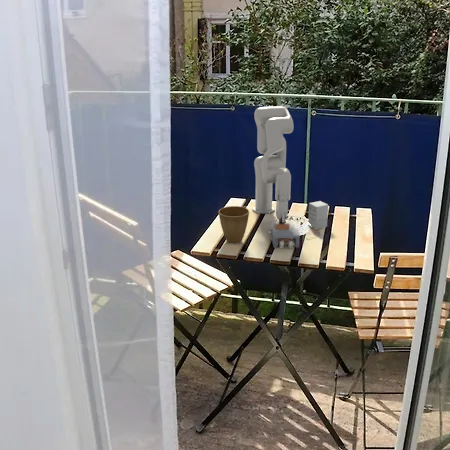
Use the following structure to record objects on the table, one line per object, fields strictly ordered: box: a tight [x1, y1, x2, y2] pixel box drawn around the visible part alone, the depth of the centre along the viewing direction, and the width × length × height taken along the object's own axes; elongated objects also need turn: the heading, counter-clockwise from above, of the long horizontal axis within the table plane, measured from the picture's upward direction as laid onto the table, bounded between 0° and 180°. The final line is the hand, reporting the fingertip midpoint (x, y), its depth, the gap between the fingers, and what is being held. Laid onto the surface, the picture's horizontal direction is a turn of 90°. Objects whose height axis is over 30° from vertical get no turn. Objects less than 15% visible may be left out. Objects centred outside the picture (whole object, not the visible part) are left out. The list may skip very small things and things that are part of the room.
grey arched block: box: [274, 223, 293, 245], centre depth 279 cm, size 12×7×6 cm, turn 1°
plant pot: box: [218, 205, 250, 245], centre depth 276 cm, size 15×15×16 cm
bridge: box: [269, 228, 300, 249], centre depth 278 cm, size 18×12×6 cm
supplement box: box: [307, 200, 329, 230], centre depth 295 cm, size 7×7×13 cm
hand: (281, 230), depth 288 cm, fingers closed
